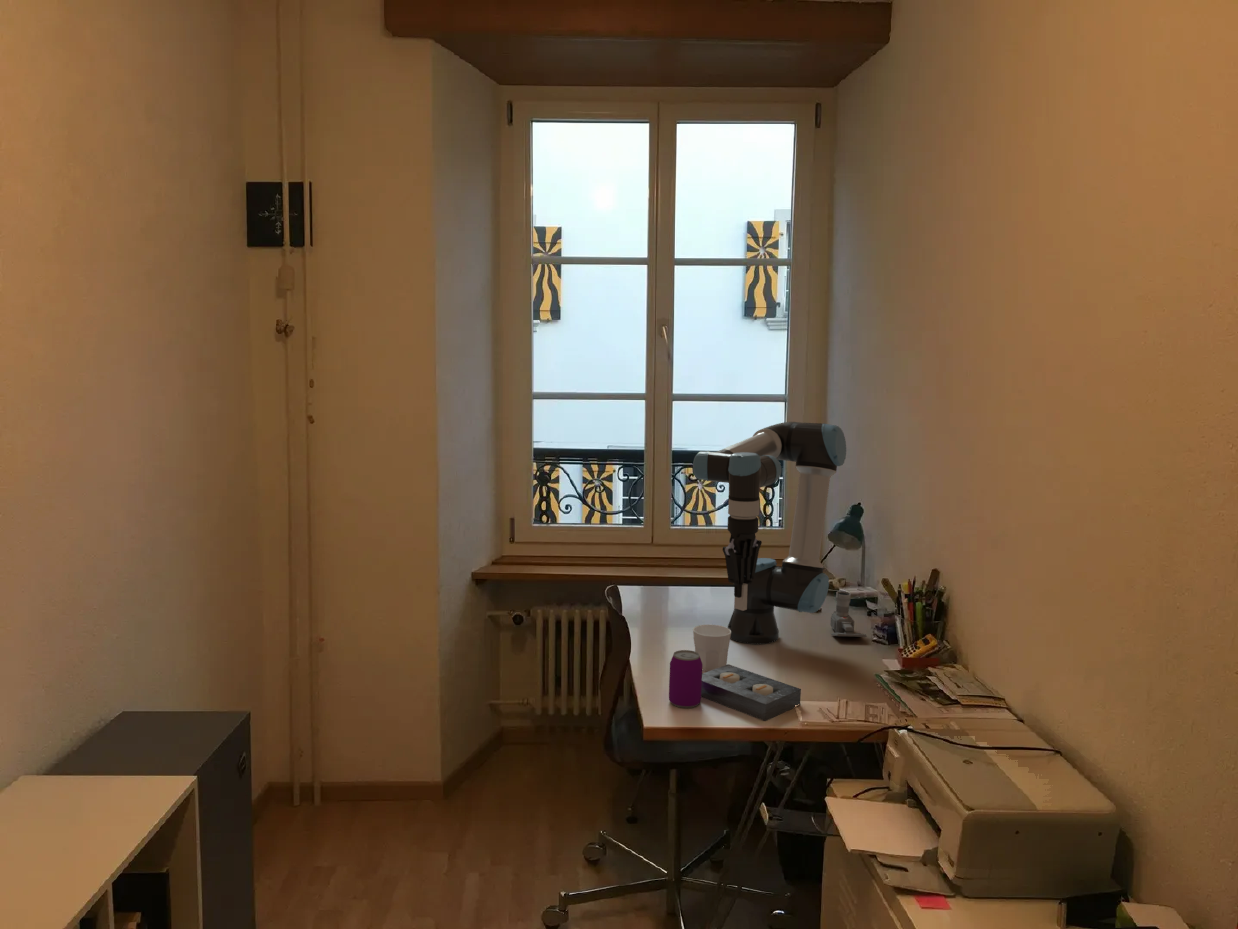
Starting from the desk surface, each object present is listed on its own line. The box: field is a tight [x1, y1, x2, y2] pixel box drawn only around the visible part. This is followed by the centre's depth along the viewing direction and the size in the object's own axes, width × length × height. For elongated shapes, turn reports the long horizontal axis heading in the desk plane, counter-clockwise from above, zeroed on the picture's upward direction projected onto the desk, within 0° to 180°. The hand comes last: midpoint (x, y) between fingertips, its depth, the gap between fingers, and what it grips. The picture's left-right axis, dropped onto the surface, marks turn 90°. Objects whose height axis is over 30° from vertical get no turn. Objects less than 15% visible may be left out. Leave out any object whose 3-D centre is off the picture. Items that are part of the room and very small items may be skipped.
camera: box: [830, 590, 867, 638], centre depth 262 cm, size 9×12×15 cm
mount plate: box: [701, 663, 802, 722], centre depth 211 cm, size 14×22×4 cm, turn 44°
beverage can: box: [668, 649, 703, 709], centre depth 207 cm, size 8×8×12 cm
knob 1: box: [720, 672, 740, 684], centre depth 214 cm, size 5×5×4 cm
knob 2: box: [752, 684, 773, 696], centre depth 207 cm, size 5×5×4 cm
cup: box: [692, 624, 731, 672], centre depth 232 cm, size 10×10×10 cm
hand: (740, 608), depth 217 cm, fingers closed
